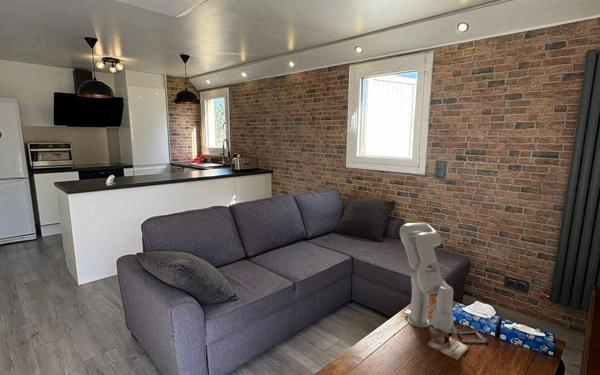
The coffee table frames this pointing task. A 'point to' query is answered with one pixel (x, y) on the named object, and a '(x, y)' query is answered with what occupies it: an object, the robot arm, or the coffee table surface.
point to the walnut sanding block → (439, 337)
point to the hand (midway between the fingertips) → (441, 339)
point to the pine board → (451, 348)
